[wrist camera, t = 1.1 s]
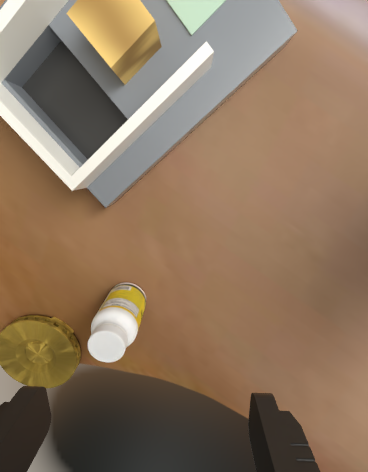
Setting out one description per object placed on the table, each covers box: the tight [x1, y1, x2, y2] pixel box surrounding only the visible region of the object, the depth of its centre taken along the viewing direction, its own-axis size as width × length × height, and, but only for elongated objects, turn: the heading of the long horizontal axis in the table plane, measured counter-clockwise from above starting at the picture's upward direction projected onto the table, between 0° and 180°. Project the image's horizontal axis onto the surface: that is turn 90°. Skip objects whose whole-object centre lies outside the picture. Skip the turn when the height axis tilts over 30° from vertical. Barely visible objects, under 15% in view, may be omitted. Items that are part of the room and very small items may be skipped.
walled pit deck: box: [0, 0, 297, 208], centre depth 24 cm, size 26×20×6 cm
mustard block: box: [66, 0, 162, 84], centre depth 22 cm, size 5×5×4 cm
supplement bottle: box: [88, 283, 146, 362], centre depth 30 cm, size 5×5×10 cm
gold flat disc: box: [0, 315, 81, 388], centre depth 37 cm, size 12×12×2 cm
